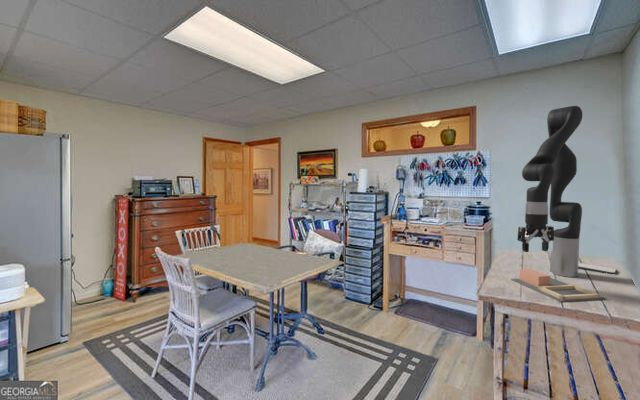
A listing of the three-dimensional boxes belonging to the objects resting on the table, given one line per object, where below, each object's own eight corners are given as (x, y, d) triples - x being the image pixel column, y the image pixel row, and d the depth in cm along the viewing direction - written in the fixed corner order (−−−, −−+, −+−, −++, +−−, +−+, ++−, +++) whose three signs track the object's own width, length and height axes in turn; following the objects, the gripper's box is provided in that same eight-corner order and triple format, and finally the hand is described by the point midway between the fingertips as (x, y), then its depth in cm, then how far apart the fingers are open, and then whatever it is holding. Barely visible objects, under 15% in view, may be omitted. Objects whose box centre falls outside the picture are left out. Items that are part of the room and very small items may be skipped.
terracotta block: (519, 279, 128) (519, 269, 127) (529, 278, 128) (530, 268, 128) (538, 287, 118) (538, 276, 118) (549, 287, 118) (550, 276, 118)
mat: (511, 279, 128) (511, 276, 128) (549, 278, 130) (549, 274, 130) (560, 302, 105) (561, 297, 105) (606, 299, 106) (606, 295, 106)
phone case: (617, 272, 139) (573, 264, 151) (617, 269, 139) (573, 261, 151) (615, 276, 133) (569, 268, 145) (615, 273, 133) (569, 265, 145)
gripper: (544, 211, 126) (543, 248, 127) (513, 212, 124) (512, 249, 125) (560, 213, 118) (559, 252, 119) (527, 214, 117) (526, 254, 118)
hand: (535, 251), depth 122 cm, fingers open, 8 cm apart
